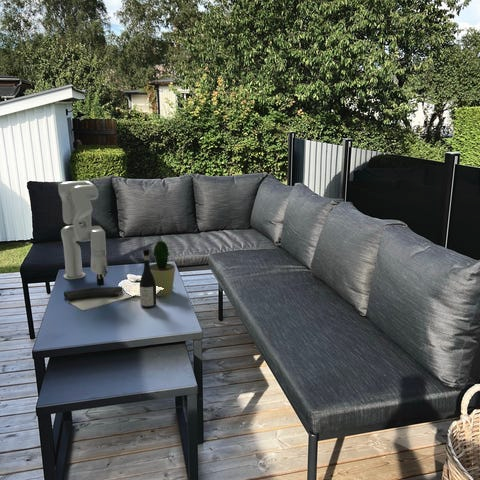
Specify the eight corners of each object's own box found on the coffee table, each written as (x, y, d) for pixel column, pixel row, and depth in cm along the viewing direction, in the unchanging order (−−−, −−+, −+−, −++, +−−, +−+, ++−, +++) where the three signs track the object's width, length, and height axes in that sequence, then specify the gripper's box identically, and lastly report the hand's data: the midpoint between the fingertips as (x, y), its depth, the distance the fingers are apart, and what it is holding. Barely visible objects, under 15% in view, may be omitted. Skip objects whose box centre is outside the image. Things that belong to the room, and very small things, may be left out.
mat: (66, 301, 253) (66, 300, 253) (121, 287, 275) (121, 286, 275) (82, 310, 240) (82, 310, 240) (139, 295, 263) (139, 294, 263)
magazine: (58, 302, 250) (116, 302, 251) (58, 296, 249) (116, 296, 250) (69, 291, 266) (123, 291, 267) (69, 285, 266) (123, 285, 266)
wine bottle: (152, 309, 243) (150, 252, 236) (138, 308, 244) (135, 251, 237) (158, 303, 250) (156, 248, 243) (144, 302, 252) (141, 247, 245)
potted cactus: (145, 289, 271) (143, 237, 264) (172, 286, 277) (171, 235, 270) (150, 298, 257) (148, 244, 250) (178, 295, 263) (177, 242, 256)
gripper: (85, 250, 256) (87, 283, 260) (99, 256, 246) (101, 290, 250) (98, 248, 261) (99, 280, 266) (112, 254, 251) (114, 287, 255)
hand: (100, 285), depth 258 cm, fingers closed
